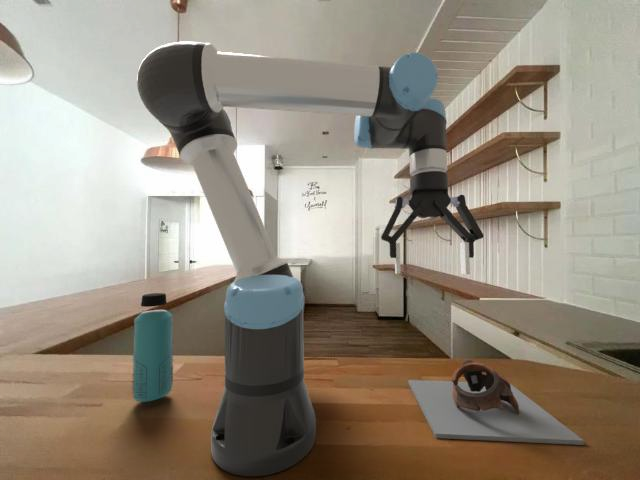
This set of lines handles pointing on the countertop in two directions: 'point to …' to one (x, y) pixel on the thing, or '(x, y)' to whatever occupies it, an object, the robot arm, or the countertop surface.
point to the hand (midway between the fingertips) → (431, 273)
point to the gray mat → (488, 417)
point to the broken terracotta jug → (476, 381)
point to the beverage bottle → (152, 351)
